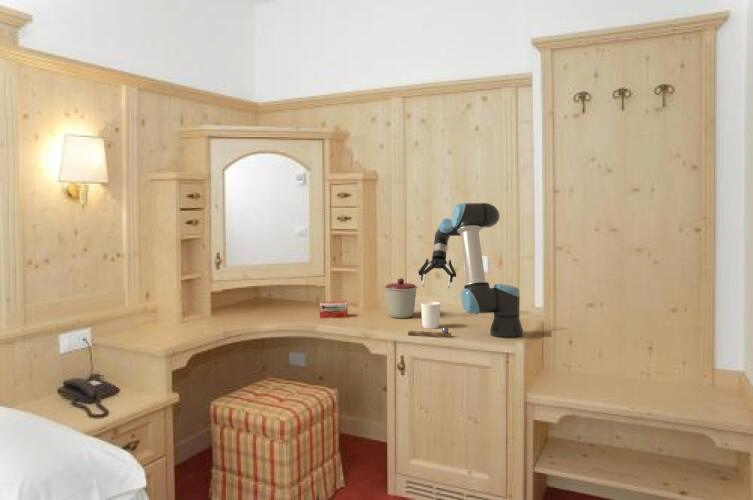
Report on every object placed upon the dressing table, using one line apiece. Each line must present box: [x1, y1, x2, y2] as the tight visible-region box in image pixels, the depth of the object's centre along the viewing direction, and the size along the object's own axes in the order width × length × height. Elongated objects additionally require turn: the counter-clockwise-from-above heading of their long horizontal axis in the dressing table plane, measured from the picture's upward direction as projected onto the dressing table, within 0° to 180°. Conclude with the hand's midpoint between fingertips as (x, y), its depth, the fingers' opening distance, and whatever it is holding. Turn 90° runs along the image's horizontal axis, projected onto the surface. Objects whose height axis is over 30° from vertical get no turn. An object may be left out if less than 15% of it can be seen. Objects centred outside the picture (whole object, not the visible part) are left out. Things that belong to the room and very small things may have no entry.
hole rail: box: [407, 330, 452, 339], centre depth 293 cm, size 20×4×2 cm, turn 74°
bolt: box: [441, 326, 449, 334], centre depth 290 cm, size 3×3×2 cm
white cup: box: [420, 301, 441, 330], centre depth 313 cm, size 10×10×12 cm
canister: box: [383, 278, 418, 319], centre depth 340 cm, size 18×18×21 cm
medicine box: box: [319, 300, 349, 319], centre depth 343 cm, size 15×8×8 cm, turn 95°
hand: (435, 286), depth 332 cm, fingers open, 13 cm apart
